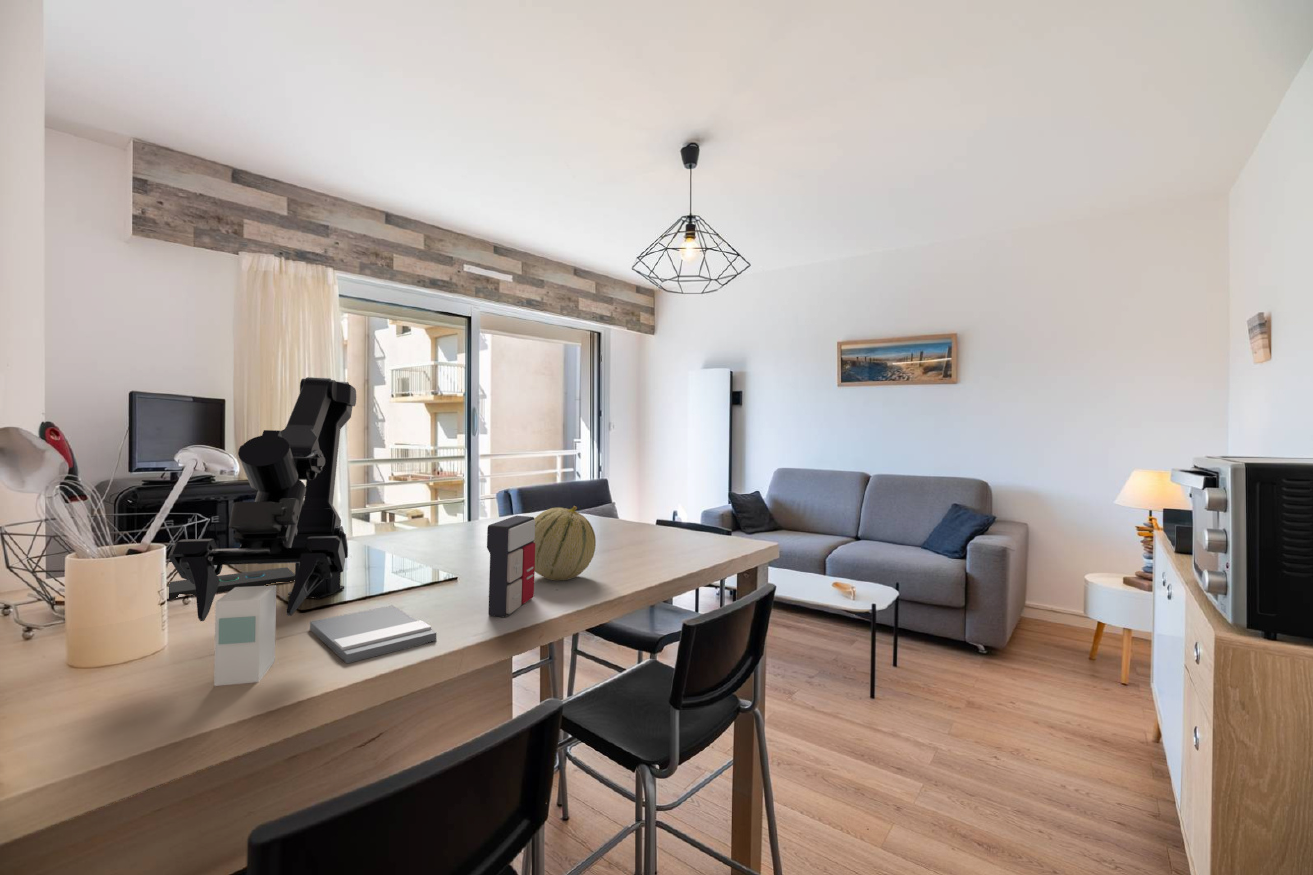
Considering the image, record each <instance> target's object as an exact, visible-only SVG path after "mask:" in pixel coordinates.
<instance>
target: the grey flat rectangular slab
mask: <svg viewBox="0 0 1313 875" xmlns="http://www.w3.org/2000/svg"><path fill="white" fill-rule="evenodd" d="M309 630H310V631H311V632H312V633H313V634H314V635H315V636H316V637H317V638H318V639H320V640H321V641H322V642H323V643H324V644H325V645H326V646H327V647H328V648H329V649H330V650H332V652H334V654H336V655H337V656H338V657H339V658H340V659H341V660H342V661H343V662H344V663H346V664H350V663H351V664H352V663H354V662H358V661H362V659H363V660H366V659H369V658H374V657H378V656H382V655H385V654H389V653H394V652H397V650H398V651H401V650H404V649H410V648H413V646H414V647H417V646H421V645H425V644H428V642H429V643H432V642H431V641H433V642H436V641H437V632H436V631H435V630H432V626H431V625H430V624H428V623H426V622H425V621H423V620H421V619H420V620H417V619H416V618H414V617H413V616H410V615H409V614H407V613H406V612H404V611H403V610H401V609H400V608H398V607H396V606H394V605H392V604H391V605H387V606H386V605H385V606H382V607H377V608H376V607H375V608H371V609H367V610H362V611H356V612H351V613H347V614H342V615H336V616H332V617H331V616H330V617H326V618H321V619H314V620H312V621H311V620H310V621H309ZM424 643H425V644H424ZM409 647H410V648H409ZM393 651H394V652H393Z"/></svg>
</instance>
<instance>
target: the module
mask: <svg viewBox="0 0 1313 875" xmlns="http://www.w3.org/2000/svg"><path fill="white" fill-rule="evenodd" d="M214 604H215V610H214V611H215V612H214V614H215V615H214V617H215V618H214V621H215V622H214V676H213V678H214V679H213V680H214V682H213V685H214V687H218V686H219V687H220V686H228V685H231V686H232V685H241V684H252V683H259V682H260V681H261V680H262V678H263V677H264V676H265V674H266V673H267V672H268V671H269V669H270V668H271V667H273V664H274V663H275V661H276V658H275V657H276V617H277V616H276V613H277V612H276V611H277V610H276V609H277V608H276V607H277V584H276V585H268V586H251V587H235V588H234V589H232V590H231V591H227V592H226V593H225V594H224V595H223V596H221V597H220V598H218V599H217V600H216V601H215V603H214Z"/></svg>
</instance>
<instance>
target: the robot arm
mask: <svg viewBox="0 0 1313 875" xmlns="http://www.w3.org/2000/svg"><path fill="white" fill-rule="evenodd" d="M356 404H357V389H356V388H355V386H353V385H352V384H350V383H349V381H336V380H335V379H331V378H330V377H329V378H328V377H309V376H308V377H305V378H301V380H300V382H299V394H298V397H297V399H296V402H295V404H294V407H293V409H292V412H291V414H290V416H289V418H288V421H287V423H286V426H285V427H284V429H282V430H272V429H271V430H269V429H268V430H267V429H263V432H262V434H261V435H258V436H256V437H252V438H251V439H248V440H247V441H246V442H244V443H243V444H242V445H241V446H239V449H238V453H237V455H238V458H239V461H240V462H241V465H242V468H243V470H244V473H245V475H246V478H247V481H248V483H249V485H250V487H251V489H252V490H255V491H257V492H256V496H255V500H254V501H235V502H233V504H232V508H231V513H230V516H229V517H230V518H229V523H228V528H229V529H230V530H233V531H235V532H234V535H233V540H234V543H236V544H240V545H239V548H238V547H237V548H219V547H218V545H217V544H216V542H215V538H198V539H197V538H196V539H195V538H193V539H192V538H191V539H190V538H189V539H187V538H186V539H179V540H178V541H176V542H175V543H174V544H173V545H172V547H171V550H170V551H169V554H168V557H167V558H168V559H169V560H170V562H171V564H172V565H173V567H174V568H175V570H176V571H177V573H178V575H179V577H180V578H181V579H182V580H190V582H191V583H192V584H195V588H196V596H195V597H196V598H195V599H196V610H197V612H196V613H197V618H198V620H199V621H200V622H204V621H206V618H208V617H207V616H208V615H209V613H210V611H211V608H212V605H213V603H214V600H215V596H216V594H217V593H216V591H217V588H218V585H219V582H220V580H219V578H218V577H217V576H220V574H221V572H222V570H223V566H226V565H229V566H230V565H253V564H256V565H272V564H273V565H276V564H277V565H278V564H294V568H295V569H294V571H295V572H294V574H295V582H293V586H292V589H291V591H289V592H287V596H288V595H290V596H289V598H288V601H287V607H286V616H288V617H291V616H293V614H294V613H295V612H296V611H297V609H298V608H299V607H300V605H302V603H303V602H304V601H305V599H306V597H314V598H313V599H317V598H319V599H323V598H325V597H327V596H326V595H328V596H331V595H332V594H335V593H337V591H338V592H340V591H342V590H345V585H341V576H342V575H341V574H342V573H343V572H344V570H345V564H346V559H348V558H349V546H348V539H347V534H346V533H345V530H344V527H343V526H341V525H342V518H341V517H340V515H339V513H338V512H337V510H336V509H335V506H334V495H335V484H336V477H337V476H336V474H337V468H338V466H337V465H338V457H339V455H338V454H339V447H340V437H341V436H340V435H341V430H342V428H343V427H344V426H345V425H346V424H347V422H348V421H349V420H350V419H351V418H352V413H353V407H355V406H356ZM303 481H306V482H305V483H304V482H303ZM322 597H323V598H322Z"/></svg>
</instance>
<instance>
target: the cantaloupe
mask: <svg viewBox="0 0 1313 875" xmlns="http://www.w3.org/2000/svg"><path fill="white" fill-rule="evenodd" d="M577 509H578V507H577V506H575V505H573V507H571V508H570V509H569V508H565V507H551V508H548V509H546V510H544V511H542V512H541V513H539V514H538V515H536V517H534V520H535V539H534V543H535V573H536V574H537V575H539V576H541V577H542V578H544V579H547V580H548V579H549V580H550V581H566V580H571V579H574V578H576V577H578V576H579V575H581V574H582V573H583V572H584V571H585V570H586V569H587V568H588V567H589V565H590V563H591V562H592V560H593V558H594V555H595V552H596V534H595V530H594V528H593V525H592V524H591V522H590V521H589V519H587V518H586V517H585V516H584V515H583V514H581V513H579V512H578V511H576V510H577Z"/></svg>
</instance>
